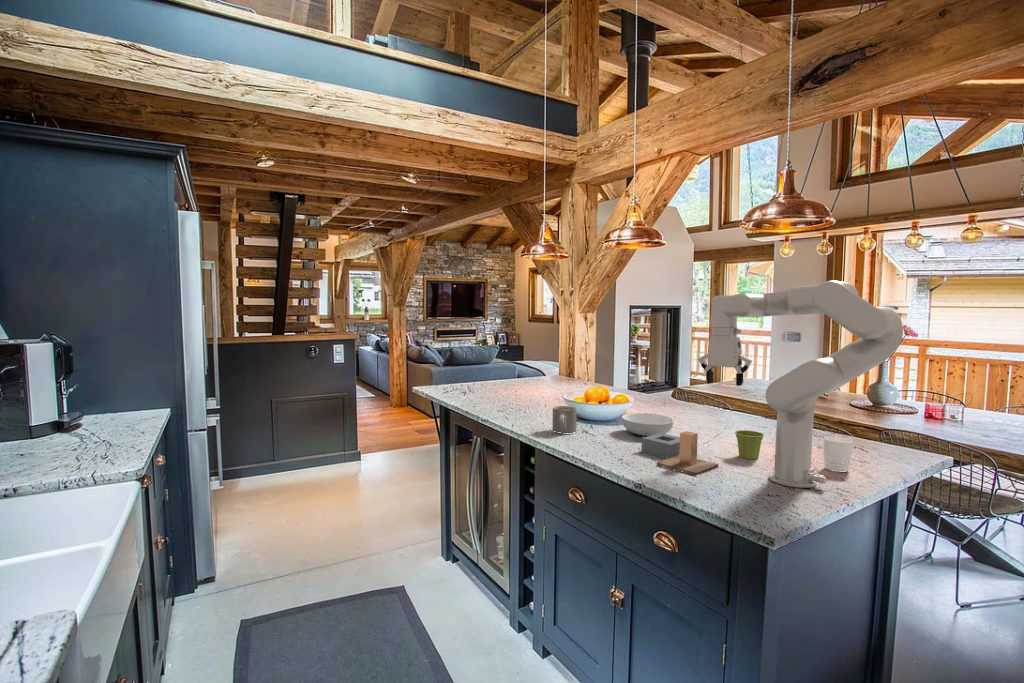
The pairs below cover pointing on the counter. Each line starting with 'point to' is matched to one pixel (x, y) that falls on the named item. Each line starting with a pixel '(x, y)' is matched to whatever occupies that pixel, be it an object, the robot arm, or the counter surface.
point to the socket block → (661, 445)
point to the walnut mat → (693, 469)
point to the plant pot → (749, 443)
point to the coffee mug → (564, 419)
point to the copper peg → (688, 448)
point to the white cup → (837, 453)
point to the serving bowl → (647, 423)
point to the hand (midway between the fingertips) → (724, 384)
